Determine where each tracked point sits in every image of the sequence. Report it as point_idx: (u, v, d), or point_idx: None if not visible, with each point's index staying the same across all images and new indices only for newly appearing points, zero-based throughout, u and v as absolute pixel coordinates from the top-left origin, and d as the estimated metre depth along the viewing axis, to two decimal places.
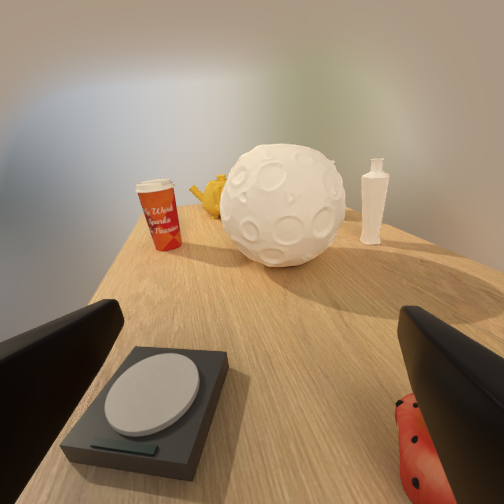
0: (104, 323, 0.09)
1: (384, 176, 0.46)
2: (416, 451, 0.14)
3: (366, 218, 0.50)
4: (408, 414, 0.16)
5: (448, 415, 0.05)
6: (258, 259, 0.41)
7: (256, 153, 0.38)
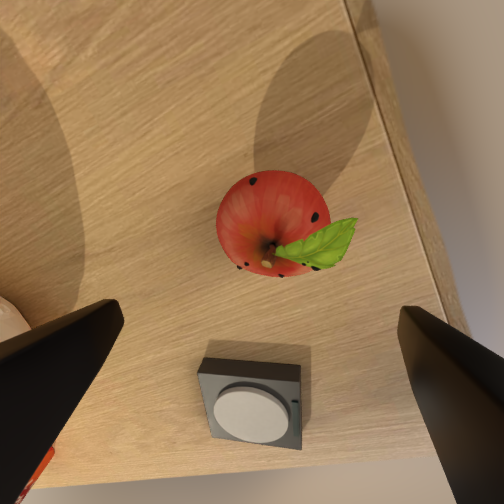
0: (104, 323, 0.09)
1: None
2: (290, 275, 0.16)
3: None
4: (256, 271, 0.16)
5: (448, 415, 0.05)
6: None
7: None
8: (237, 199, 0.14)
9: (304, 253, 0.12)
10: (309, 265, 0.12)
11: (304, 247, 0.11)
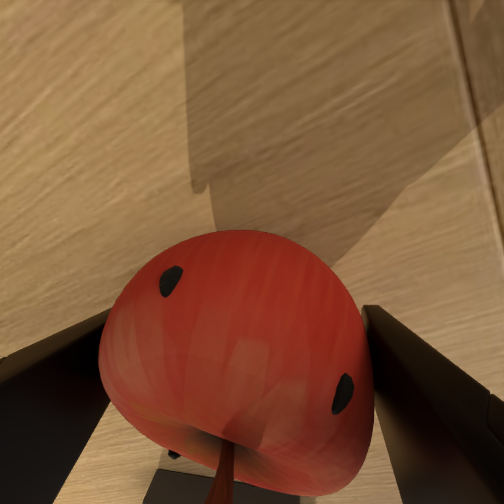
0: None
1: None
2: None
3: None
4: None
5: (393, 410, 0.06)
6: None
7: None
8: (124, 334, 0.05)
9: None
10: None
11: None
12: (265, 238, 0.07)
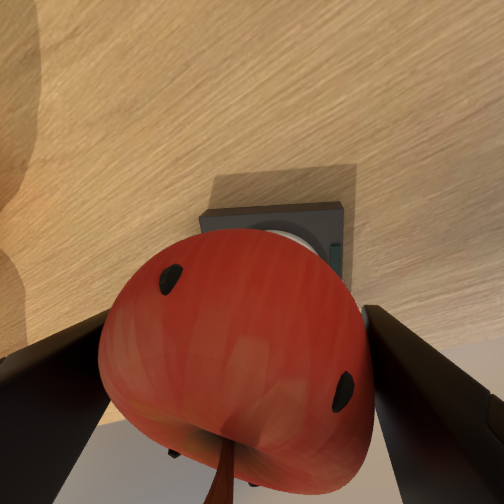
0: None
1: None
2: None
3: None
4: None
5: (393, 410, 0.06)
6: None
7: None
8: (124, 333, 0.05)
9: None
10: None
11: None
12: (265, 236, 0.07)
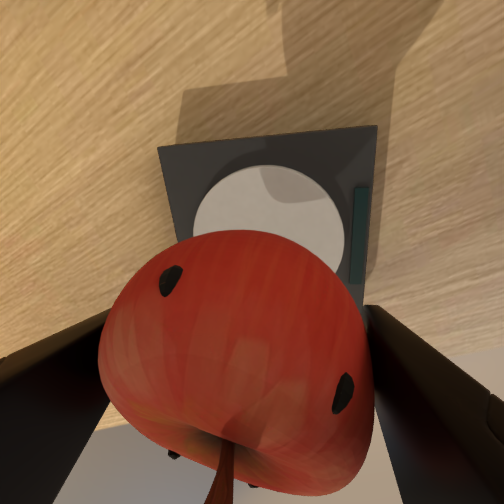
0: None
1: None
2: None
3: None
4: None
5: (393, 410, 0.06)
6: None
7: None
8: (124, 334, 0.05)
9: None
10: None
11: None
12: (265, 237, 0.07)
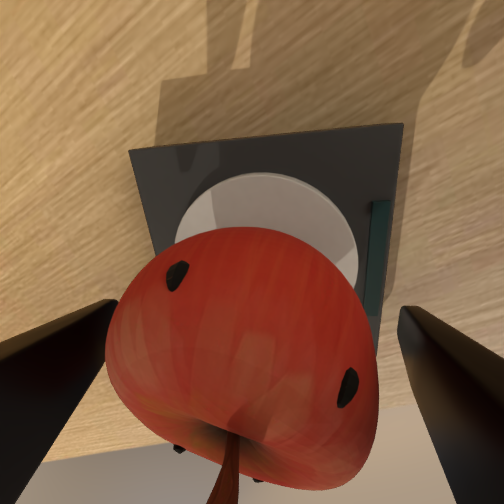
0: (104, 323, 0.09)
1: None
2: None
3: None
4: (203, 456, 0.07)
5: (448, 415, 0.05)
6: None
7: None
8: (131, 328, 0.05)
9: None
10: None
11: None
12: (270, 234, 0.07)
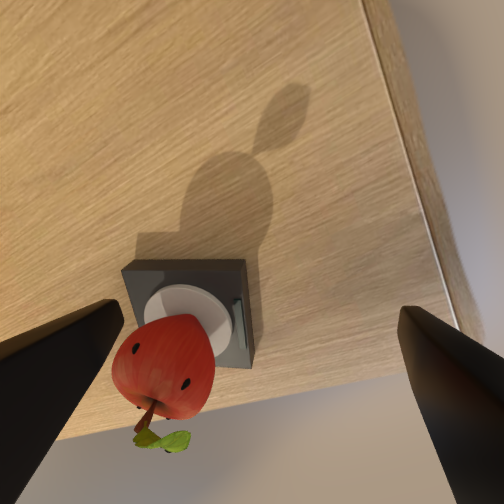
0: (104, 323, 0.09)
1: None
2: None
3: None
4: None
5: (448, 415, 0.05)
6: None
7: None
8: (121, 365, 0.17)
9: None
10: None
11: (149, 447, 0.13)
12: (172, 328, 0.18)
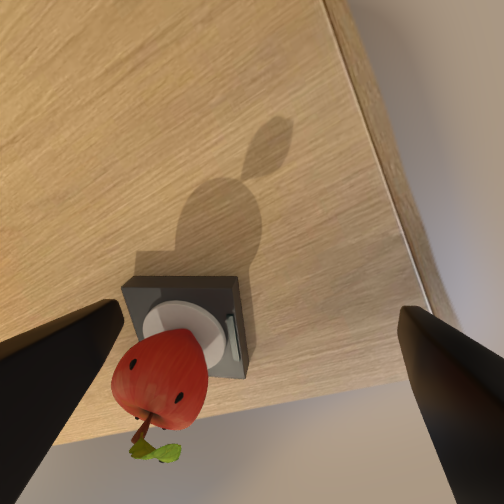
0: (104, 323, 0.09)
1: None
2: None
3: None
4: None
5: (448, 415, 0.05)
6: None
7: None
8: (119, 380, 0.18)
9: None
10: None
11: None
12: (167, 344, 0.20)
